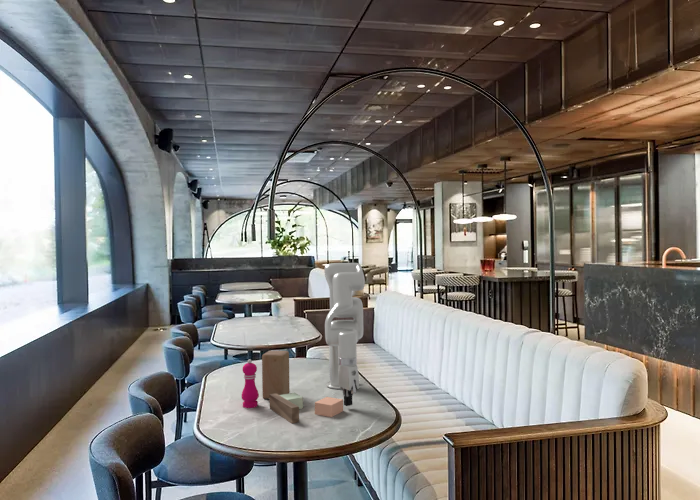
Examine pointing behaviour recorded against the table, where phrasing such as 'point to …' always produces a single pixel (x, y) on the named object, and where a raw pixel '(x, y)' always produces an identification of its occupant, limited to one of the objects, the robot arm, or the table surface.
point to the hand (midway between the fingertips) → (348, 405)
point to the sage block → (294, 399)
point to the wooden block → (275, 373)
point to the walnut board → (284, 408)
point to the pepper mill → (250, 386)
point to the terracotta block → (329, 406)
